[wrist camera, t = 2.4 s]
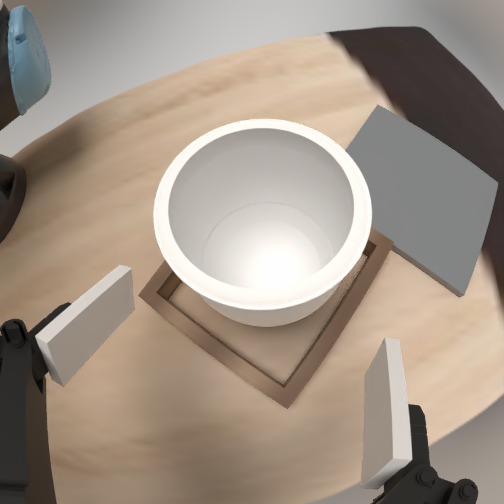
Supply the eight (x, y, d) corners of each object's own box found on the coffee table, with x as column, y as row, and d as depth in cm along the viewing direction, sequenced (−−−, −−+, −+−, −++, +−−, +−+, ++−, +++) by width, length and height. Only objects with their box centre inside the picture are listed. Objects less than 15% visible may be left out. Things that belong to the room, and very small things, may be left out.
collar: (151, 302, 29) (138, 295, 26) (253, 173, 32) (250, 156, 30) (286, 403, 25) (287, 408, 22) (384, 253, 29) (394, 242, 26)
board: (312, 199, 31) (313, 194, 30) (375, 109, 35) (377, 104, 34) (459, 297, 26) (464, 294, 25) (494, 187, 30) (498, 183, 29)
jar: (333, 235, 30) (373, 131, 15) (318, 345, 26) (363, 328, 12) (224, 218, 31) (185, 110, 17) (199, 323, 28) (124, 284, 14)
